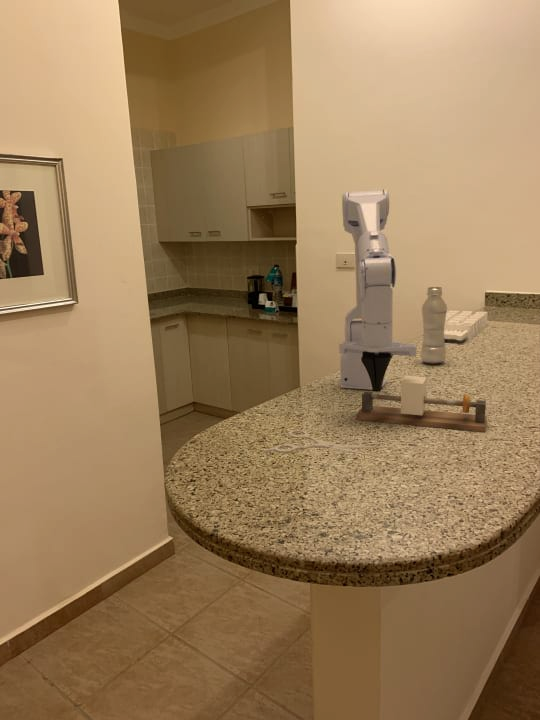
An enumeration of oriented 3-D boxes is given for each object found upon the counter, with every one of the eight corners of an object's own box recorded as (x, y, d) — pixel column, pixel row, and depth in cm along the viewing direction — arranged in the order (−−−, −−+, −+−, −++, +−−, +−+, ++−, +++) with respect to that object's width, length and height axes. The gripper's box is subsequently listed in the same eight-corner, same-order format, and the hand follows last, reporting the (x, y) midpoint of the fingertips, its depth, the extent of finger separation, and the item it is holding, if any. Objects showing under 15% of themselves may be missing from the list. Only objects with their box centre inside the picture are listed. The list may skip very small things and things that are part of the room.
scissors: (284, 428, 103) (390, 438, 95) (284, 432, 103) (390, 442, 95) (262, 450, 93) (377, 463, 85) (262, 454, 93) (377, 467, 86)
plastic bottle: (419, 365, 142) (420, 289, 137) (422, 359, 148) (423, 286, 143) (444, 366, 140) (446, 289, 135) (446, 360, 146) (448, 286, 141)
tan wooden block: (400, 413, 103) (401, 382, 101) (405, 406, 107) (405, 375, 105) (422, 415, 101) (423, 383, 100) (425, 407, 105) (426, 377, 104)
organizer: (487, 311, 190) (465, 330, 161) (487, 325, 191) (464, 346, 162) (449, 310, 196) (421, 328, 168) (449, 323, 198) (421, 343, 169)
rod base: (356, 419, 106) (355, 392, 105) (363, 409, 111) (363, 383, 110) (484, 432, 96) (486, 402, 95) (486, 420, 102) (487, 392, 100)
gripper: (334, 324, 102) (335, 393, 105) (412, 326, 96) (411, 399, 99) (344, 318, 108) (345, 383, 111) (418, 319, 102) (417, 388, 106)
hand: (377, 390), depth 106 cm, fingers closed
